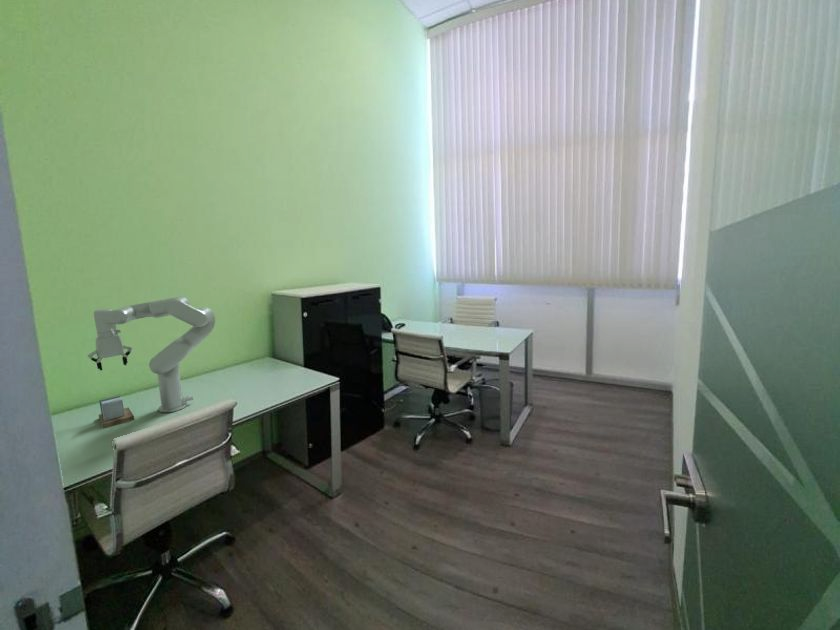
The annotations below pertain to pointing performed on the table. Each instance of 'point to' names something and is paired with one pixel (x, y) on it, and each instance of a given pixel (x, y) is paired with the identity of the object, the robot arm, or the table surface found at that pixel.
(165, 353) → the robot arm
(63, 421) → the table surface
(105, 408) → the medicine box
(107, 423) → the wooden display stand
